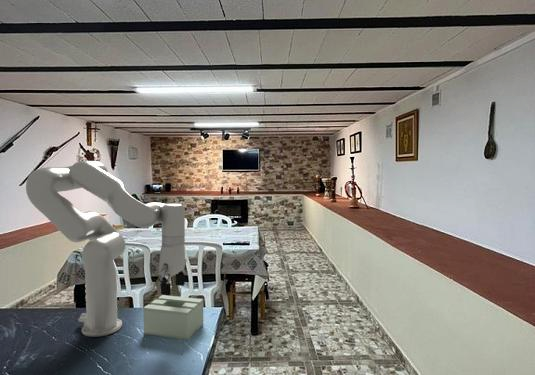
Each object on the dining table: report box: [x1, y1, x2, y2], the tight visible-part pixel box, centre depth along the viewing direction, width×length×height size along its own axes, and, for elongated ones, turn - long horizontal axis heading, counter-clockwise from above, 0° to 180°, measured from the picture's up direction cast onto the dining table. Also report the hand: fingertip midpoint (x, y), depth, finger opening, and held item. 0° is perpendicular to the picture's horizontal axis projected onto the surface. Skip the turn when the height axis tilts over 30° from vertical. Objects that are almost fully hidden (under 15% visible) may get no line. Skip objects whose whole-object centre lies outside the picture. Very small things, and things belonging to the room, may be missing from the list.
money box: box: [142, 295, 204, 341], centre depth 121 cm, size 16×12×9 cm
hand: (173, 289), depth 121 cm, fingers open, 9 cm apart
